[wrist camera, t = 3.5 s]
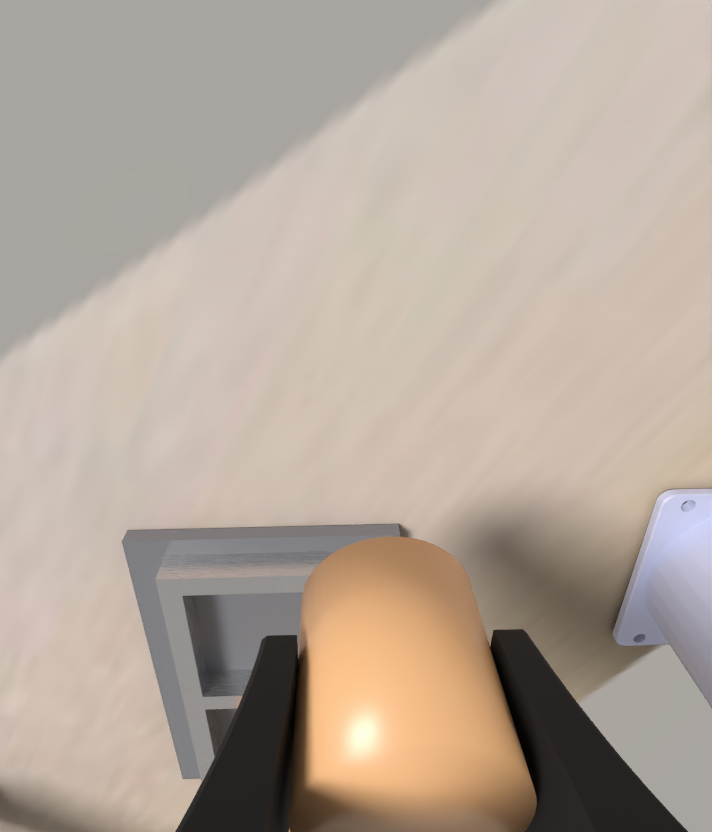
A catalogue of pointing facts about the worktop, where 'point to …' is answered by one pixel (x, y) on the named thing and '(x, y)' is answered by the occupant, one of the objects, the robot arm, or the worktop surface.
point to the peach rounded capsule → (401, 701)
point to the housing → (221, 614)
